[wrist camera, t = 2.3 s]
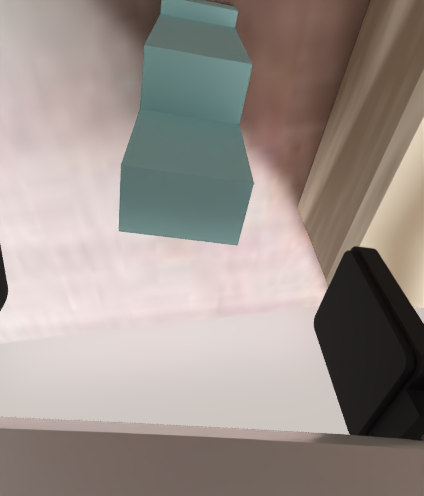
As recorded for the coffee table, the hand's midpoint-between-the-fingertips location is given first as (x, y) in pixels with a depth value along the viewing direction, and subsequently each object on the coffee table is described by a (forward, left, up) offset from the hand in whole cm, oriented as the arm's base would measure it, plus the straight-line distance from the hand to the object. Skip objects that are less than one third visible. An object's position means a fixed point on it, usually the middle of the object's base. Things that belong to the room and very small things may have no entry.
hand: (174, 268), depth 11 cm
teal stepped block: (0, 0, -18) cm, 18 cm away
